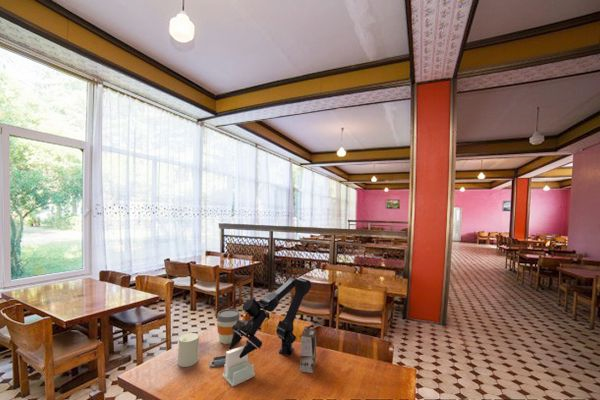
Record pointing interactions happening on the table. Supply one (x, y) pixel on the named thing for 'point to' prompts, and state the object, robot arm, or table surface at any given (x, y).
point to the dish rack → (239, 373)
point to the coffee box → (308, 350)
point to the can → (188, 349)
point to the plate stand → (218, 361)
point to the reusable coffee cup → (226, 324)
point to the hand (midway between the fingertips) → (234, 353)
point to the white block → (234, 358)
